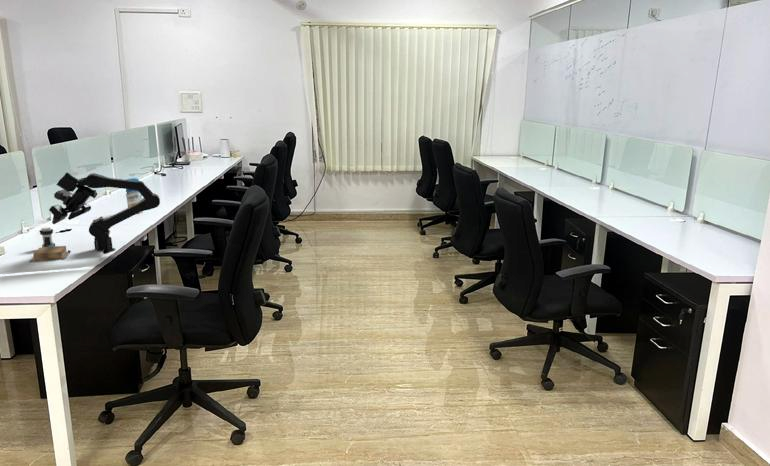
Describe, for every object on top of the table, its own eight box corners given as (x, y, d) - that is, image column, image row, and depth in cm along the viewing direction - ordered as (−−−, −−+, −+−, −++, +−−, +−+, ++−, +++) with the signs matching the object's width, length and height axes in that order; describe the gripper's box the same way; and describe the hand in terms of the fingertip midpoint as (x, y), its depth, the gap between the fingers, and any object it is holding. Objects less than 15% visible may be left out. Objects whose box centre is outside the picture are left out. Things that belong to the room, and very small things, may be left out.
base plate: (71, 253, 241) (71, 249, 240) (65, 261, 229) (64, 258, 229) (37, 255, 237) (37, 252, 236) (29, 264, 225) (29, 260, 224)
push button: (61, 247, 249) (58, 226, 247) (56, 251, 244) (53, 229, 242) (45, 248, 248) (42, 227, 246) (40, 251, 243) (36, 229, 241)
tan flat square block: (66, 252, 239) (65, 245, 238) (61, 258, 230) (60, 251, 229) (40, 254, 236) (39, 247, 235) (34, 260, 226) (33, 253, 226)
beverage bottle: (146, 211, 329) (142, 178, 324) (138, 214, 320) (135, 180, 316) (132, 210, 329) (129, 177, 324) (125, 213, 321) (121, 179, 316)
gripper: (82, 181, 245) (63, 204, 250) (49, 187, 228) (30, 212, 232) (99, 199, 246) (81, 221, 251) (68, 207, 228) (49, 231, 233)
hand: (61, 221), depth 242 cm, fingers open, 9 cm apart
